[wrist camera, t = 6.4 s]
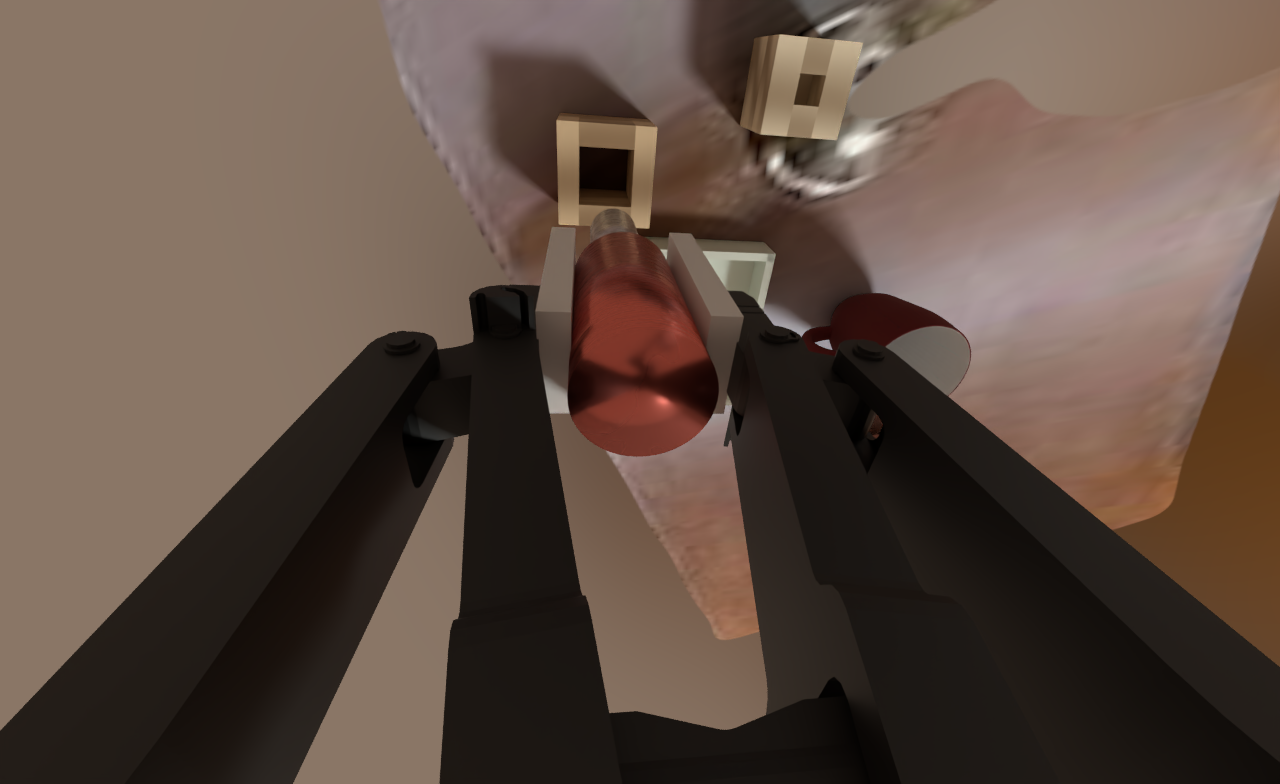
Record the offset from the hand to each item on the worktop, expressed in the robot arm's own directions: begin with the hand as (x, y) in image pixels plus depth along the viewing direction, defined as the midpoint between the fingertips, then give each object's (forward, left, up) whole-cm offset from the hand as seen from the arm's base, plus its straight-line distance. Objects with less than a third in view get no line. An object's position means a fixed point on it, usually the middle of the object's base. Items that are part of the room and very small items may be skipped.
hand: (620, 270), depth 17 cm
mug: (+12, +22, -22) cm, 33 cm away
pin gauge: (0, 0, -5) cm, 5 cm away
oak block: (0, 0, -22) cm, 22 cm away
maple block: (-5, +12, -22) cm, 25 cm away
